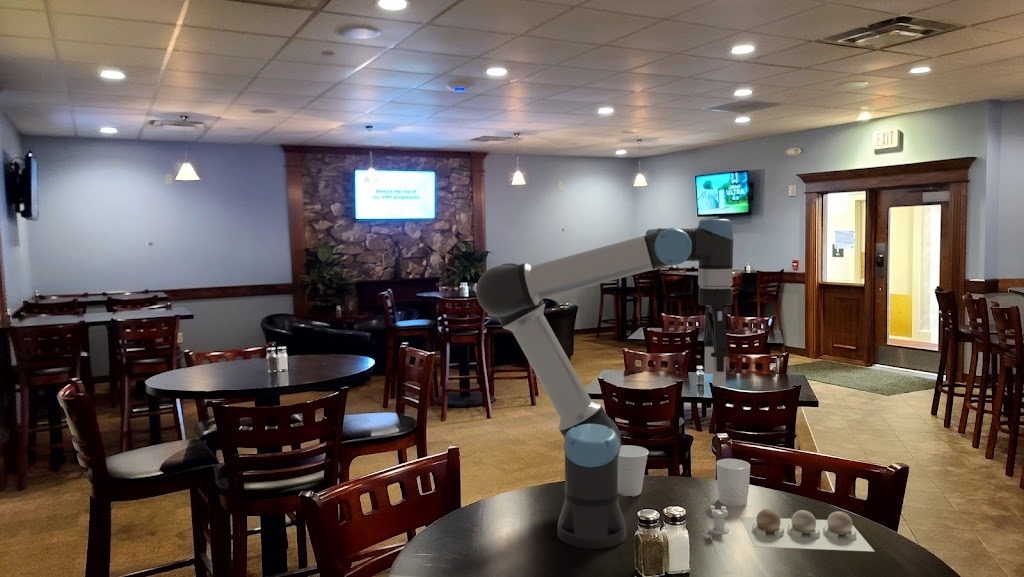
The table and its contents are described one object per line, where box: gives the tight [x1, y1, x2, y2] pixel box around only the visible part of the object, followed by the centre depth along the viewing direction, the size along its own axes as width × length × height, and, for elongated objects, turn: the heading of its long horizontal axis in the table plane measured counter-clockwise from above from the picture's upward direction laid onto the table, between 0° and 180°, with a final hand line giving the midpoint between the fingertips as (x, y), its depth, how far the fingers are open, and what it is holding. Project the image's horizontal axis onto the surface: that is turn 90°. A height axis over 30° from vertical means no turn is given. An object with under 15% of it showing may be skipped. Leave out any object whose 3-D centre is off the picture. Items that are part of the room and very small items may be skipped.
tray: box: [740, 516, 876, 553], centre depth 159 cm, size 24×16×2 cm, turn 83°
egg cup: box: [708, 505, 730, 535], centre depth 161 cm, size 4×4×5 cm
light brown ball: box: [756, 508, 781, 533], centre depth 159 cm, size 5×5×5 cm
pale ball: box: [826, 510, 854, 535], centre depth 158 cm, size 5×5×5 cm
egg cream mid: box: [791, 509, 817, 534], centre depth 159 cm, size 5×5×5 cm
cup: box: [618, 444, 649, 497], centre depth 186 cm, size 10×10×11 cm
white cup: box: [716, 458, 751, 507], centre depth 178 cm, size 8×8×10 cm
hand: (714, 379), depth 167 cm, fingers open, 13 cm apart
